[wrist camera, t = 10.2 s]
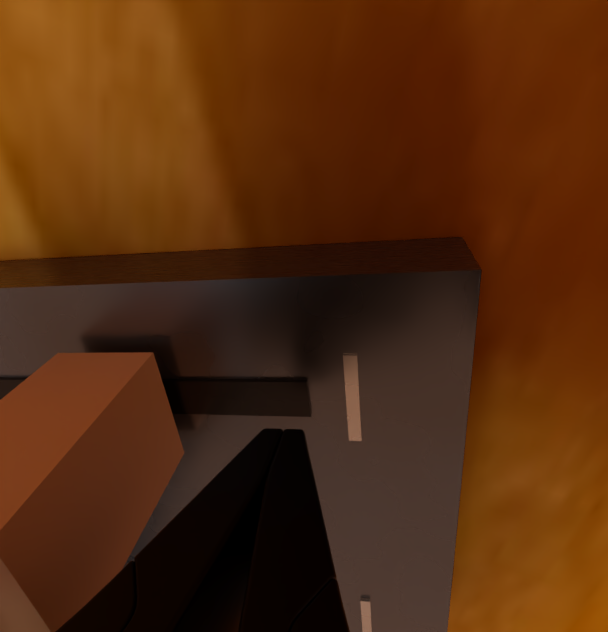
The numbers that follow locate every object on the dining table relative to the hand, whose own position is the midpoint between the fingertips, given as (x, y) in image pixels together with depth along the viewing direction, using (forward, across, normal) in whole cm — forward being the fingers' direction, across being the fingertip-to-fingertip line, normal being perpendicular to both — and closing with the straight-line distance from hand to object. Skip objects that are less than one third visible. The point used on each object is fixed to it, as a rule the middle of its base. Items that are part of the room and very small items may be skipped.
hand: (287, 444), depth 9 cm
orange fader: (+1, +4, 0) cm, 4 cm away
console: (+3, +9, +4) cm, 11 cm away
